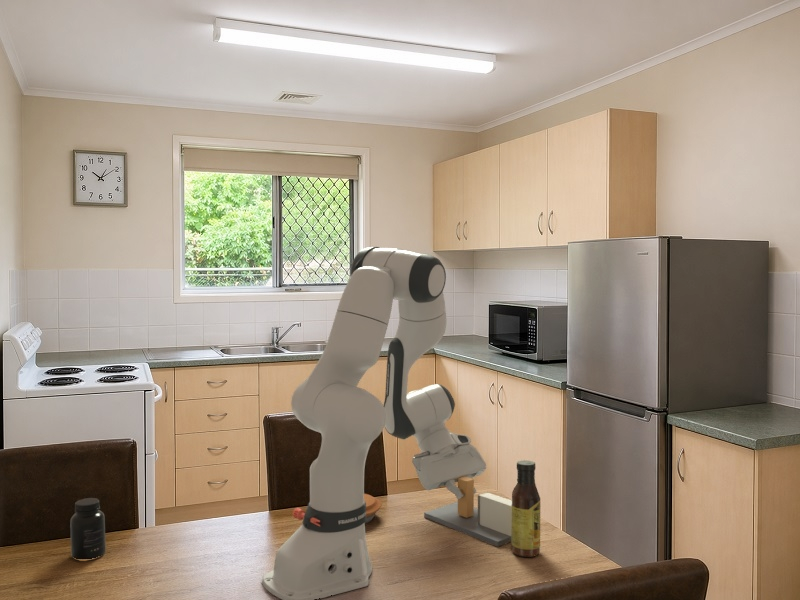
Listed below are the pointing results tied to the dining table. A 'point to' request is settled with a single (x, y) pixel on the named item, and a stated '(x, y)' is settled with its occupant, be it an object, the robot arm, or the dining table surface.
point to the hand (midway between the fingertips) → (467, 495)
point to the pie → (371, 506)
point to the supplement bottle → (87, 530)
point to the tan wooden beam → (466, 497)
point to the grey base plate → (479, 519)
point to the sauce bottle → (525, 512)
